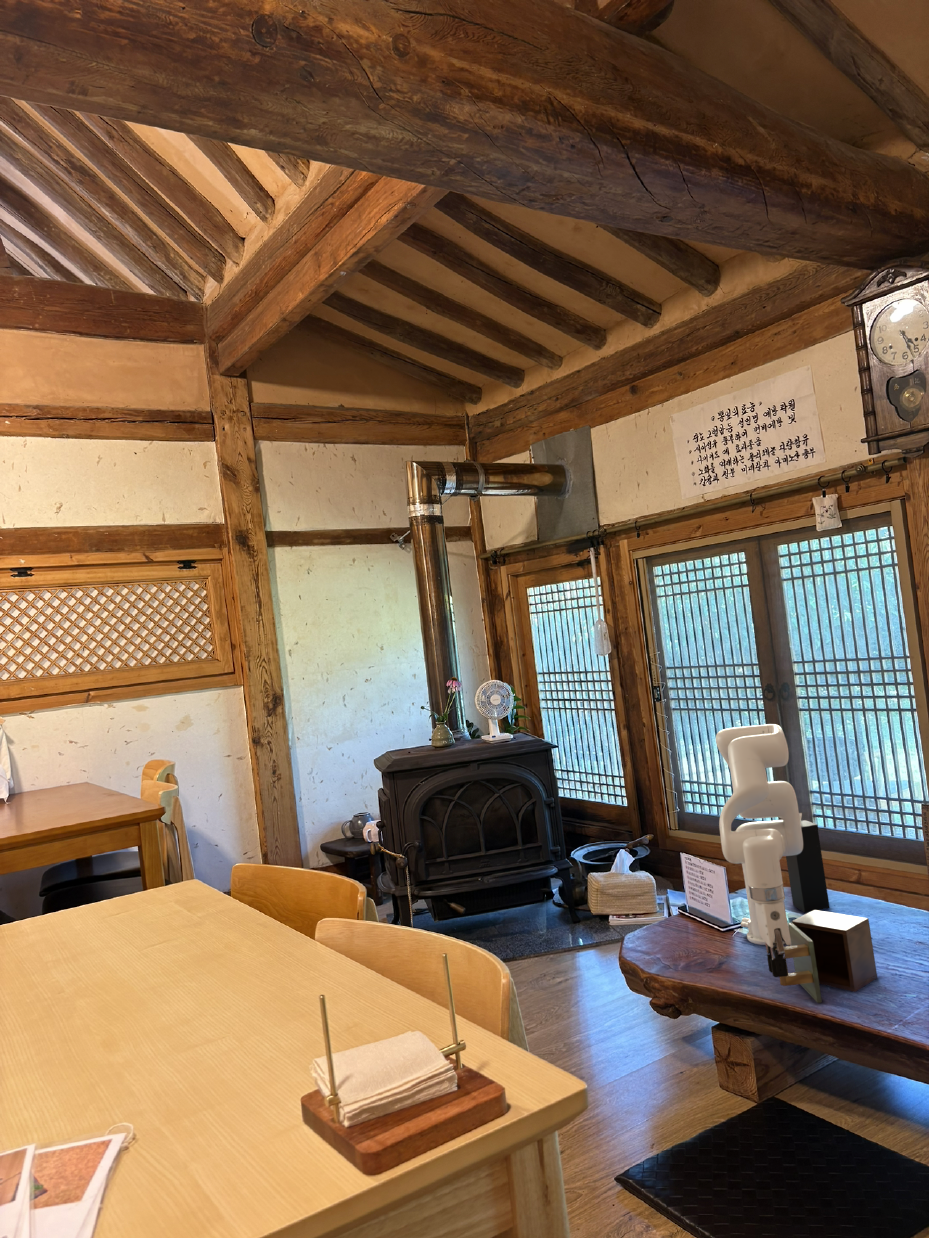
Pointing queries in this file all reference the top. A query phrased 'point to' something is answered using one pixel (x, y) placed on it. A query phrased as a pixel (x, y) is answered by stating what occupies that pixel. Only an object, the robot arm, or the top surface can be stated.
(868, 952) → the cupboard
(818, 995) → the door
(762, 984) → the top surface
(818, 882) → the tall black block
